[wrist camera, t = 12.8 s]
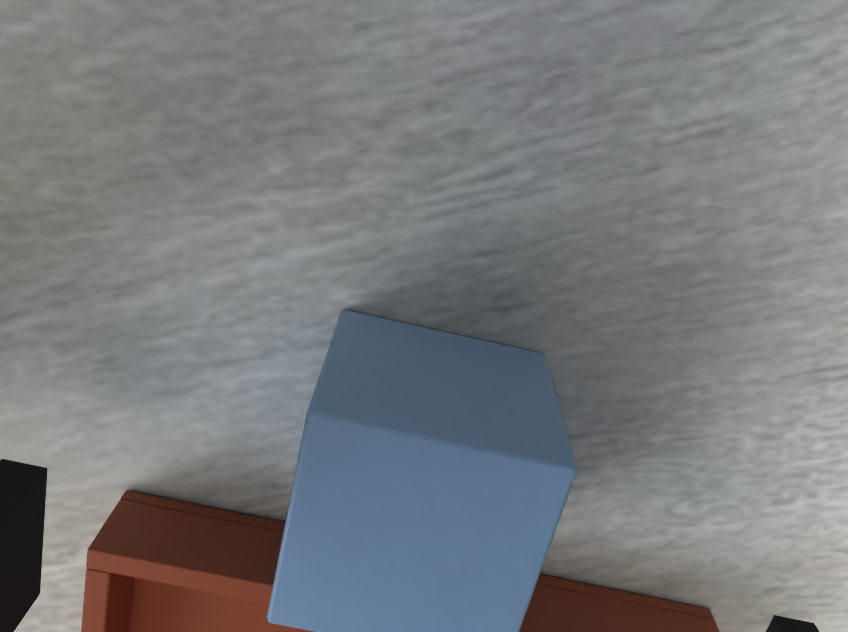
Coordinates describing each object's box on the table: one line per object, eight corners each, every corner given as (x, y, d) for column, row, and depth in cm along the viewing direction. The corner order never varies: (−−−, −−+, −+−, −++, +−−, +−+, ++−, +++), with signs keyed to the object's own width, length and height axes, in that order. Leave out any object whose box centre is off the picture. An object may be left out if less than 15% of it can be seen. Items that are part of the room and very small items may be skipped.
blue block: (342, 307, 18) (307, 410, 14) (545, 352, 19) (579, 468, 14) (306, 480, 20) (265, 624, 15) (492, 519, 20) (506, 671, 16)
